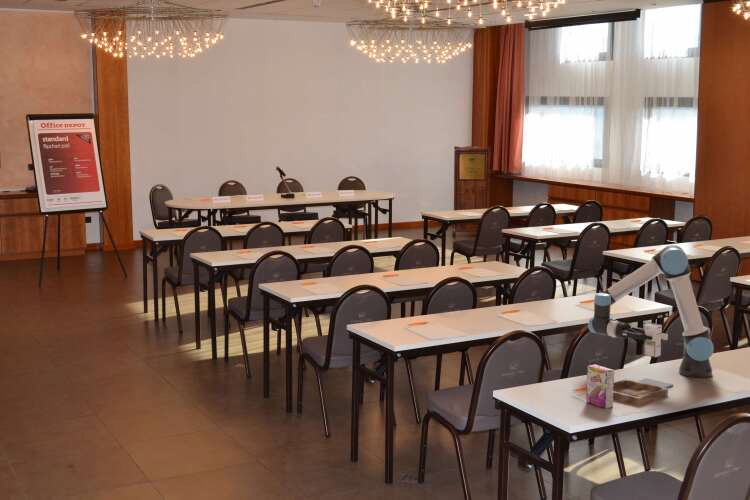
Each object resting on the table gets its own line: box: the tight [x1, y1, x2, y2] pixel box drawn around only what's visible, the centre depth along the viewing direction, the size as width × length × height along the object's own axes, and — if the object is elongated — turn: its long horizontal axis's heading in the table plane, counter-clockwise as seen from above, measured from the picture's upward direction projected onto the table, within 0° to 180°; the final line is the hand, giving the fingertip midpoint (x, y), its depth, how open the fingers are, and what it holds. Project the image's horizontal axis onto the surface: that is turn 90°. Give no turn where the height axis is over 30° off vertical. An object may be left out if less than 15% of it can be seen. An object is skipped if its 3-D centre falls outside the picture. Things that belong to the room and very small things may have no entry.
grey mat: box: [637, 377, 674, 389], centre depth 418 cm, size 14×14×1 cm
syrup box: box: [643, 322, 663, 358], centre depth 416 cm, size 6×6×14 cm
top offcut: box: [631, 390, 652, 397], centre depth 398 cm, size 5×10×1 cm, turn 134°
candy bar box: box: [585, 364, 615, 410], centre depth 388 cm, size 11×5×16 cm, turn 33°
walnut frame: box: [613, 378, 669, 407], centre depth 402 cm, size 22×23×4 cm
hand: (663, 338), depth 412 cm, fingers closed on syrup box, 6 cm apart
